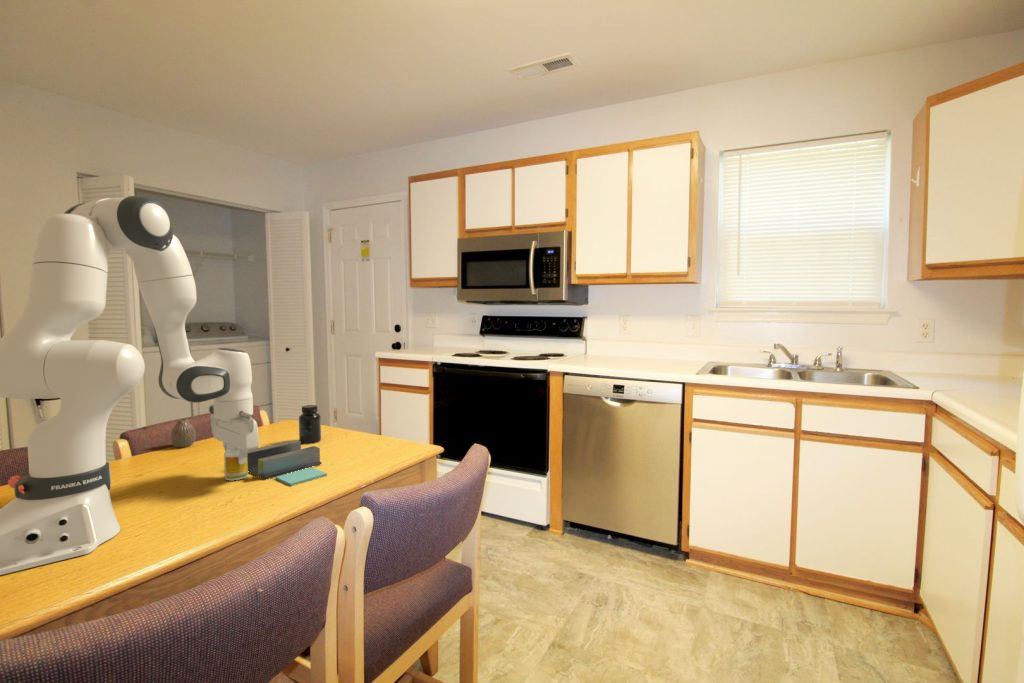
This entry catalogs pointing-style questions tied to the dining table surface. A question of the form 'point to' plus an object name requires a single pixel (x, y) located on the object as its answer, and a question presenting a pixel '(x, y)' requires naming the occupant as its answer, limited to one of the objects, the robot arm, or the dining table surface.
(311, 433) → the supplement bottle
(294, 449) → the slot housing
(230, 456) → the supplement bottle
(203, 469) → the dining table surface
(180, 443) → the vase
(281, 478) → the teal mat
